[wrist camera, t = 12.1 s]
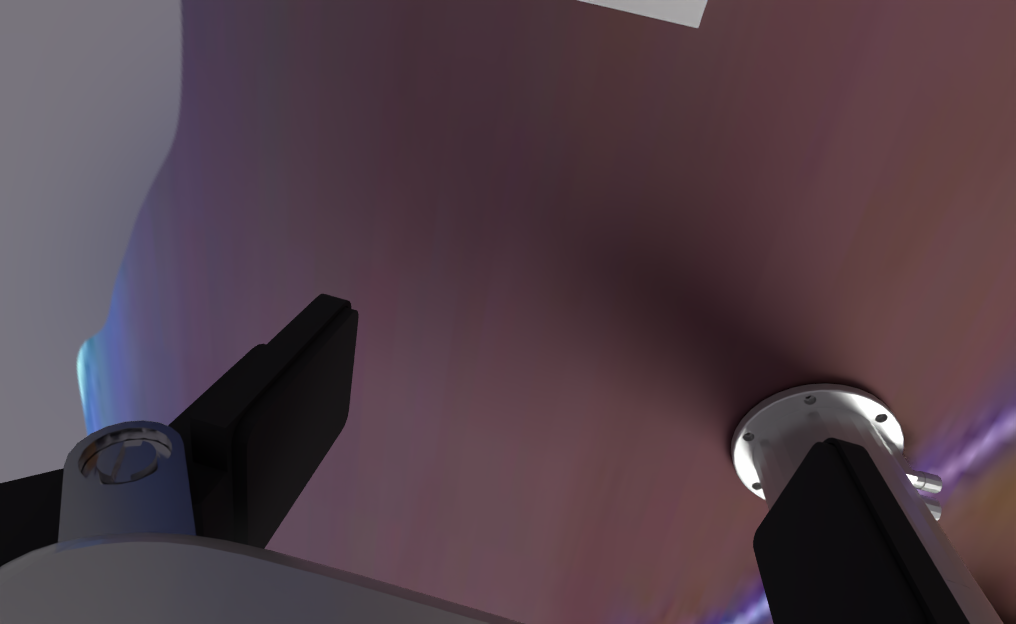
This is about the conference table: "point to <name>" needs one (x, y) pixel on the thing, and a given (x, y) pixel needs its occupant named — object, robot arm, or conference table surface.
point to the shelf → (660, 9)
